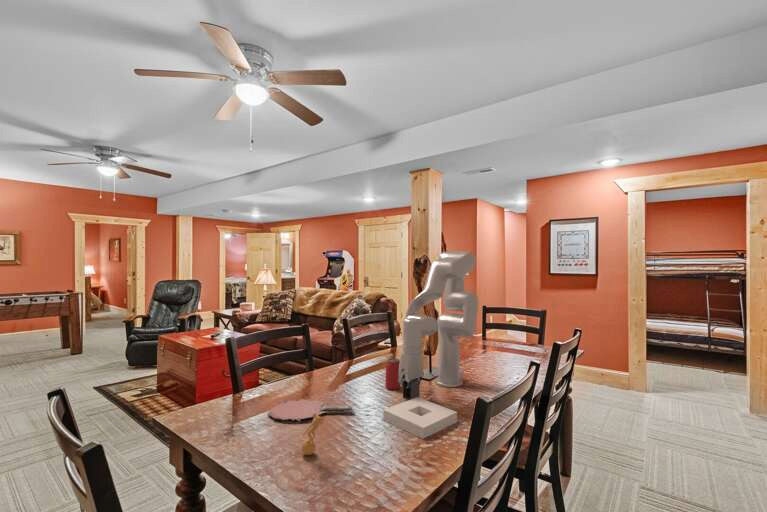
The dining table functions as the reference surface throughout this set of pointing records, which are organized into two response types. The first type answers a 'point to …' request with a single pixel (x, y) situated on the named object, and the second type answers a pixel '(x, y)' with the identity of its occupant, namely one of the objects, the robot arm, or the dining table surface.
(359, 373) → the dining table surface
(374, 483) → the dining table surface
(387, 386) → the beer can
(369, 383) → the dining table surface
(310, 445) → the figurine
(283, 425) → the dining table surface
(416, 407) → the socket
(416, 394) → the plug
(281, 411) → the table tennis paddle
